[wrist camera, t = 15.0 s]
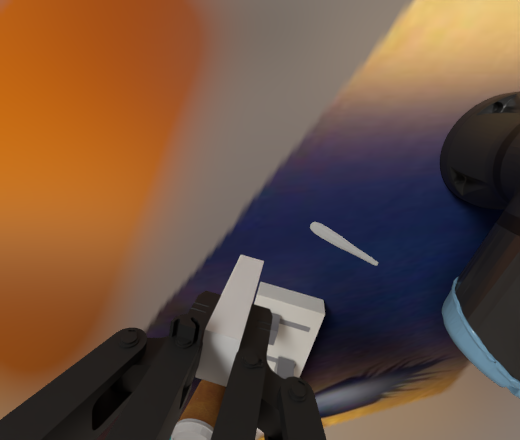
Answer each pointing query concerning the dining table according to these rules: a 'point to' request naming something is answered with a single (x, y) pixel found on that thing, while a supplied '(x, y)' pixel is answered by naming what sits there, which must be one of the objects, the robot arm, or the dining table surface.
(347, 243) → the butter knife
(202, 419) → the disposable coffee cup
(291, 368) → the tab
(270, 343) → the tab
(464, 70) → the dining table surface
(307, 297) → the switch bank
